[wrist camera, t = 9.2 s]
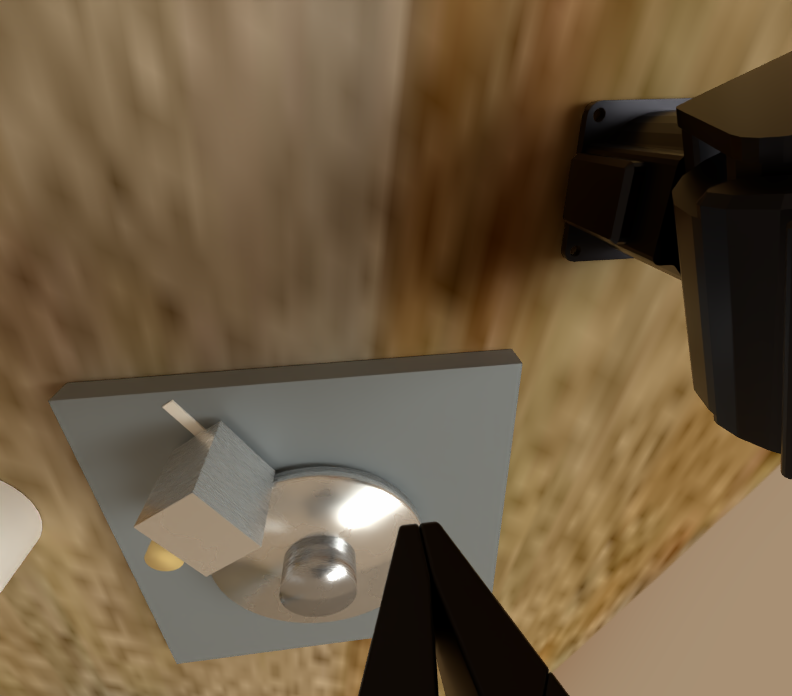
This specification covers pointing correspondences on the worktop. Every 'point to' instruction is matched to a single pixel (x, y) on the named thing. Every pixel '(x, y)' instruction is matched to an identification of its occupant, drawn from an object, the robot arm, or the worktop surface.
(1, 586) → the cylindrical container
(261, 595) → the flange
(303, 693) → the worktop surface
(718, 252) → the robot arm
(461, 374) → the base board
